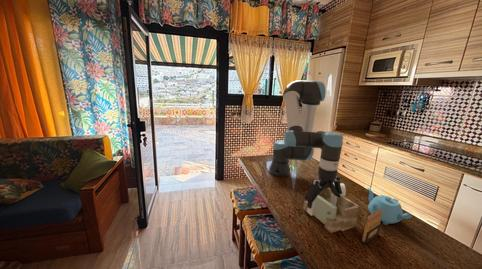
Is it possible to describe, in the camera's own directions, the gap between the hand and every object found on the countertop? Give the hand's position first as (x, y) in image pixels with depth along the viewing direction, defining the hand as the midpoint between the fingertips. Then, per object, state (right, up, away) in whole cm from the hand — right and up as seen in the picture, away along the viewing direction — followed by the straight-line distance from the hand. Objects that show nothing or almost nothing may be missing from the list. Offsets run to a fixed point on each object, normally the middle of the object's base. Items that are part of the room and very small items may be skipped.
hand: (321, 210), depth 87 cm
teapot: (+30, -5, +3) cm, 31 cm away
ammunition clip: (+16, -7, -9) cm, 20 cm away
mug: (+16, 0, +24) cm, 29 cm away
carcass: (+4, -4, +3) cm, 6 cm away
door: (0, -4, +1) cm, 4 cm away
